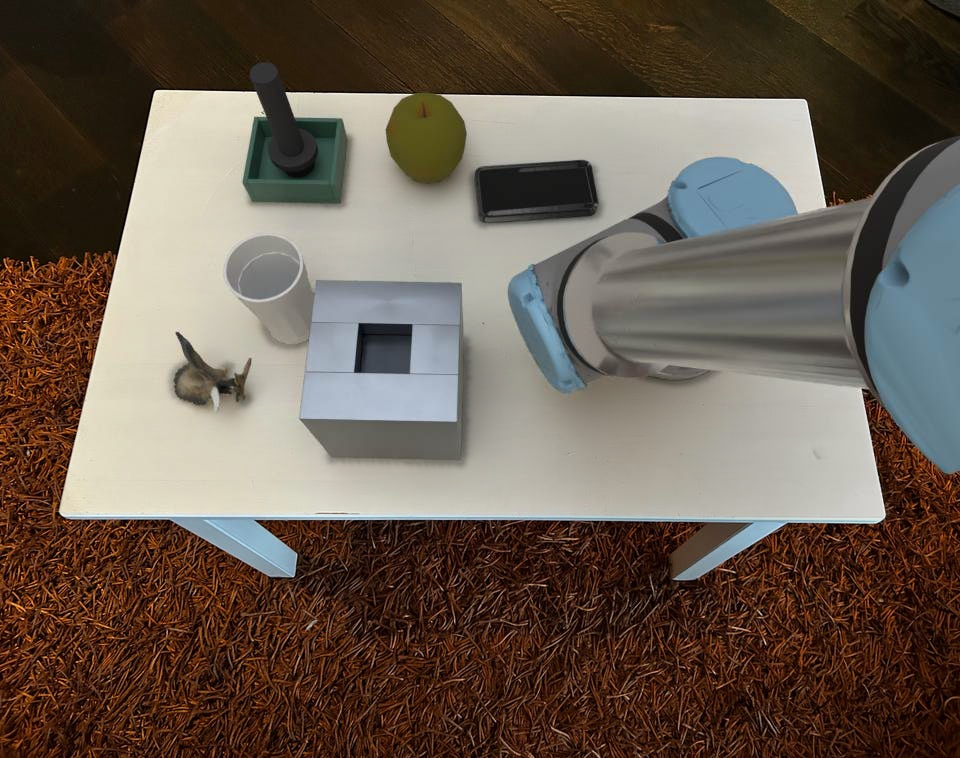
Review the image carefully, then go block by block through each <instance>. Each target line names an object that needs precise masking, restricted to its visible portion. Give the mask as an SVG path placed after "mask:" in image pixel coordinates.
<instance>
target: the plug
mask: <svg viewBox="0 0 960 758" xmlns="http://www.w3.org/2000/svg"><path fill="white" fill-rule="evenodd" d="M249 78H250V81H251V83H252V85H253V88H254V90H255V93H256V95H257V99H258V100H259V103H260V105H261V106H262V110H263V112H264V114H265V117H267V120H268V122H269V124H270V127H271V129H272V132H273V134H274V136H273V137H272V139H271V140H270V142H269V144H268V154H269V157H270V159H271V161H272V163H273V164H274V165H275V166H276V167H277V168H279V169H280V170H283V171H285V173H286V174H287V175H289V176H291V177H294V178H301V177H304V176H307V175H308V174H310V173H311V172H312V170H313V168H314V161H315V160H316V158H317V155H318V146H317V143H316V140H315V138H314V137H313V135H312V134H311V133H309V132H308V131H306V130H304V129H300V128H298V126H297V123H296V120H295V117H296V116H295V115H294V112H293V110H292V106H291V104H290V101H289V97H288V95H287V92H286V90H285V86H284V84H283V81H282V78H281V76H280V72H279V70H278V68H277V66H276V65H275V64H274V63H271V62H267V61H264V62H259V63H257V64H255V65H253V66H252V67H251V69H250V71H249Z"/></svg>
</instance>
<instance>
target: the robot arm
mask: <svg viewBox="0 0 960 758" xmlns="http://www.w3.org/2000/svg"><path fill="white" fill-rule="evenodd" d="M506 293H507V299H508V303H509V308H510V310H511V313H512V316H513V318H514V321H515V323H516V326H517V328H518V331H519V333H520V335H521V337H522V339H523V341H524V343H525V346H526V347H527V349H528V352H529V354H530V355H531V357H532V358H533V361H534V362H535V364H536V365H537V367H538V369H539V371H540V372H541V373H542V375H543V377H544V378H545V380H546V381H547V382H548V383H549V385H551V387H552V388H553V389H555V390H556V391H557V392H558V393H560V394H566V395H568V394H571V393H573V392H575V391H578V390H585V389H586V388H588V384H589V383H591V382H593V381H597V380H598V379H600V378H602V377H605V376H607V377H613V378H619V379H639V378H646V377H648V376H650V377H652V378H656V379H660V380H669V381H683V380H688V379H692V378H696V377H699V376H702V375H703V374H706V373H707V372H709V371H716V372H723V373H732V374H740V375H748V376H757V377H764V378H771V379H781V380H787V381H788V380H790V381H796V382H797V381H798V382H804V383H814V384H821V385H830V386H839V387H845V388H846V387H847V388H856V389H864V390H869V392H870V393H871V394H872V396H873V397H874V398H875V400H876V401H877V403H879V404H880V405H881V406H882V407H883V408H884V409H885V410H886V411H887V413H889V415H890V417H891V418H892V420H893V421H894V423H895V424H896V425H897V427H899V428H900V430H901V431H902V432H903V433H904V435H905V436H906V438H908V439H909V440H910V442H911V443H912V444H913V445H914V447H916V448H917V450H919V452H920V453H921V454H922V455H923V456H924V457H925V458H926V459H927V460H929V462H931V463H932V464H933V466H935V467H937V469H939V471H941V472H942V473H944V474H946V475H953V474H955V473H957V472H960V135H956V136H953V137H950V138H947V139H943V140H941V141H938V142H935V143H932V144H929V145H927V146H925V147H923V148H921V149H920V150H918V151H916V152H914V153H913V154H911V155H910V156H908V157H907V158H906V159H904V160H903V161H902V162H900V163H899V164H898V165H897V166H896V167H895V168H894V169H893V170H892V171H891V172H890V173H889V174H888V175H887V176H886V177H885V179H884V180H883V181H882V182H881V183H880V185H879V186H878V187H877V189H876V190H875V191H874V193H873V194H872V196H871V197H868V198H864V199H858V200H855V201H849V202H845V203H840V204H836V205H832V206H826V207H823V208H822V207H821V208H817V209H813V210H808V211H805V212H801V213H800V212H799V213H798V210H797V206H796V205H795V202H794V200H793V198H792V196H791V195H790V193H789V191H788V190H787V189H786V188H785V186H784V185H783V184H782V183H781V182H780V181H779V180H778V179H777V178H776V177H775V176H773V175H772V174H771V173H769V172H768V171H767V170H765V169H763V168H761V167H760V166H757V165H755V163H751V162H749V163H747V162H744V161H742V160H740V159H739V158H735V157H727V156H712V157H711V156H710V157H706V158H702V159H698V160H696V161H693V162H691V163H690V164H689V165H687V166H686V167H684V168H683V169H682V170H681V171H680V172H679V174H678V175H677V176H676V177H675V179H674V180H672V181H671V182H670V186H669V187H668V190H667V195H666V196H665V197H664V198H663V199H662V200H661V201H659V202H657V203H656V204H653V205H651V206H649V207H647V208H646V209H643V210H641V211H639V212H637V213H636V214H634V215H631V216H630V217H628V218H626V219H623V220H622V221H619V222H617V223H615V224H613V225H611V226H609V227H607V228H605V229H603V230H602V231H599V232H597V233H596V234H593V235H592V236H589V237H587V238H585V239H584V240H582V241H580V242H578V243H575V244H573V245H571V246H569V247H568V248H565V249H564V250H561V251H560V252H557V253H556V254H554V255H552V256H549V257H547V258H546V259H544V260H543V259H542V260H541V261H539V262H537V263H531V264H529V265H528V266H527V268H526V269H524V270H523V271H521V272H519V273H517V274H516V275H514V276H513V277H512V278H511V279H510V281H509V283H508V285H507V292H506Z"/></svg>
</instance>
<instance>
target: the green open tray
mask: <svg viewBox="0 0 960 758" xmlns="http://www.w3.org/2000/svg"><path fill="white" fill-rule="evenodd" d="M294 117H295V120H296V123H297V126H298V128H300V129H304V130H306V131H308V132H309V133H311V134H312V135H313V137H314V138H315V140H316V143H317V146H318V155H317V158H316V160H315V161H314V168H313V170H312V172H311V173H310V174H308V175H307V176H304V177H301V178H294V177H291V176H289V175H287V174H286V173H285V171H283V170H280V169H279V168H277V167H276V166H275V165H274V164H273V163H272V161H271V159H270V157H269V154H268V144H269V142H270V140H271V139H272V137H273V136H274V134H273V132H272V129H271V127H270V124H269V122H268V120H267V117H266V116H254V117H253V122H252V127H251V133H250V138H249V143H248V148H247V149H248V150H247V153H246V154H247V155H246V160H245V166H244V169H243V170H244V171H243V176H242V181H241V184H242V185H243V187H244V189H245V190H246V193H247V194H248V196H249V198H250V200H251V202H254V203H255V202H256V203H257V202H259V203H303V204H305V203H307V204H310V203H311V204H314V203H315V204H341V201H342V193H343V192H342V191H343V184H344V174H345V167H346V166H345V165H346V156H347V149H348V148H347V147H348V135H347V131H346V127H345V124H344V119H343V118H342V117H299V116H298V117H296V116H294Z"/></svg>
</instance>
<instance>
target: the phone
mask: <svg viewBox="0 0 960 758" xmlns="http://www.w3.org/2000/svg"><path fill="white" fill-rule="evenodd" d="M474 183H475V194H476V204H477V213H478V214H477V216H478V218H479V220H480V221H482V222H483V223H501V222H516V221H531V220H546V219H559V218H576V217H588V216H593V215H594V214H596V212H597V210H598V207H599V198H598V193H597V188H596V182H595V177H594V171H593V166H592V164H591V163H590V161H588V160H586V159H574V160H573V159H572V160H571V159H570V160H558V161H555V160H554V161H541V162H528V163H527V162H526V163H525V162H524V163H512V164H495V165H483V166H479V167H477V168H476V169H475V172H474Z"/></svg>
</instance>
